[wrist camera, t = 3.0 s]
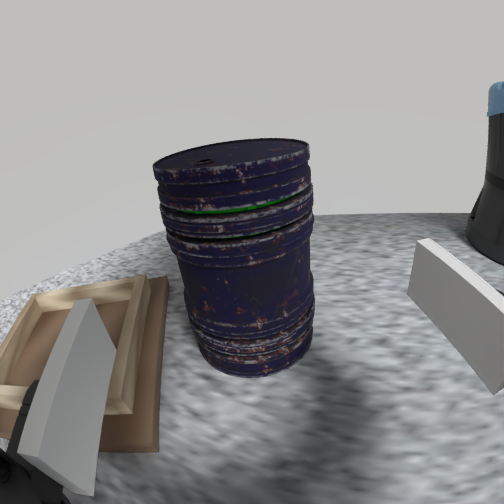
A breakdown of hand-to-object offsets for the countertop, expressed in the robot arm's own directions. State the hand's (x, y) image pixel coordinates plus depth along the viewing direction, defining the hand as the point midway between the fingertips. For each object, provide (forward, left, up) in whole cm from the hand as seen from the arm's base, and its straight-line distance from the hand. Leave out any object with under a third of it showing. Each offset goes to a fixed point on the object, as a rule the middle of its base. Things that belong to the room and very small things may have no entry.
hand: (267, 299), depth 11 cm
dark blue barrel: (0, -10, -11) cm, 15 cm away
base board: (+17, -10, -11) cm, 22 cm away
